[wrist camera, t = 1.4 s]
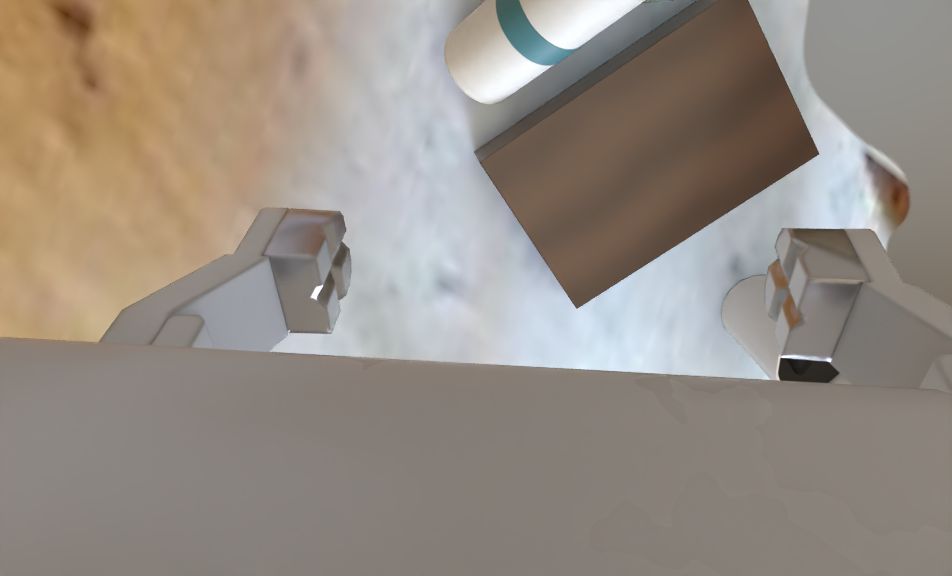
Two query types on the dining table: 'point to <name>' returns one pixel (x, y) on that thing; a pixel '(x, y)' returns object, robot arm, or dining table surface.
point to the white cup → (768, 336)
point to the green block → (655, 0)
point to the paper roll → (522, 41)
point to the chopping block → (650, 147)
